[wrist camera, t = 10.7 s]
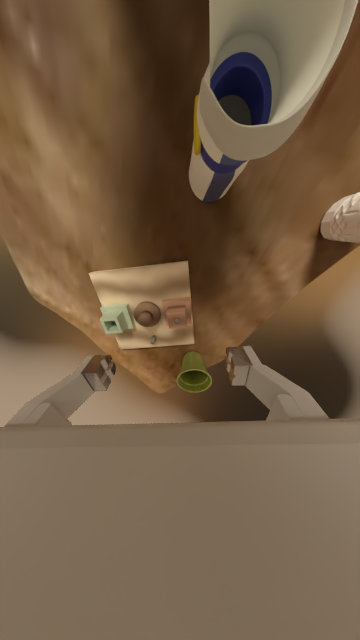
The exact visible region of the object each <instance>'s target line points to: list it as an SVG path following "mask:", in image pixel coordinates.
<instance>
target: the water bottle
mask: <svg viewBox="0 0 360 640" xmlns="http://www.w3.org/2000/svg"><path fill="white" fill-rule="evenodd" d="M357 2H358V0H209V16H210V63H209V65H208V67H207V69H206V72H205V74H204V77H203V79H202V81H201V87H200V92H199V95H197V96H196V97H195V106H194V141H193V149H192V156H191V162H190V167H189V181H190V186H191V188H192V191H193V192H194V194H195V195H196V196H197V197H198V198H199V199H200V200H202V201H205V202H214V201H217V200H219V199H220V198H222V197H223V196H224V195H225V194H226V192H227V191H228V190H229V188H230V187H231V185H232V184H233V182H234V181H235V180H236V178H237V177H238V176H239V175H240V173H241V172H242V171H243V169H244V168H245V166H246V165H247V163H248V161H249V160H252V159H258V158H262V157H265V156H267V155H269V154H270V153H272V152H274V151H275V150H276V149H277V148H279V147H280V146H281V145H282V144H283V143H284V142H285V141H286V140H287V139H288V138H289V137H290V136H291V134H292V133H293V132H294V131H295V129H296V128H297V127H298V125H299V124H300V122H301V121H302V119H303V118H304V116H305V114H306V113H307V111H308V110H309V108H310V106H311V105H312V103H313V101H314V99H315V98H316V96H317V94H318V92H319V91H320V89H321V87H322V85H323V83H324V81H325V79H326V77H327V75H328V74H329V72H330V70H331V68H332V66H333V64H334V62H335V60H336V58H337V56H338V54H339V52H340V50H341V48H342V45H343V43H344V41H345V38H346V36H347V33H348V30H349V28H350V25H351V22H352V19H353V16H354V13H355V9H356V6H357Z"/></svg>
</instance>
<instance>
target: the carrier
mask: <svg viewBox="0 0 360 640" xmlns="http://www.w3.org/2000/svg"><path fill="white" fill-rule="evenodd" d="M89 276H90V278H91V281H92V283H93V285H94V288H95V290H96V292H97V295H98V297H99V300H100V302H101V304H102V306H103V305H114V304H124V303H129V307H130V310H131V313H132V316H133V319H134V322H135V327H134V329H125V330H124V331H123V333H114V335H115V337H116V340H117V342H118V345H119V347H120V349H132V348H146V347H159V346H173V345H187V344H195V343H194V331H193V318H192V305H191V293H190V280H189V268H188V261H181V262H172V263H164V264H155V265H147V266H139V267H130V268H122V269H113V270H105V271H96V272H91V273H89ZM114 322H115V321H114ZM115 323H116V322H115Z"/></svg>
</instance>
